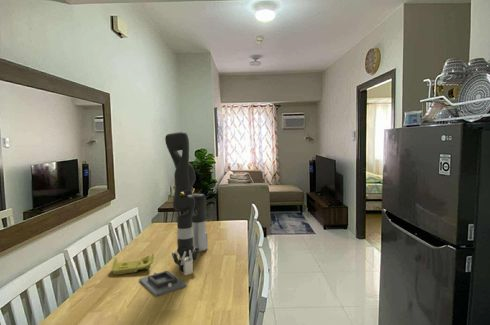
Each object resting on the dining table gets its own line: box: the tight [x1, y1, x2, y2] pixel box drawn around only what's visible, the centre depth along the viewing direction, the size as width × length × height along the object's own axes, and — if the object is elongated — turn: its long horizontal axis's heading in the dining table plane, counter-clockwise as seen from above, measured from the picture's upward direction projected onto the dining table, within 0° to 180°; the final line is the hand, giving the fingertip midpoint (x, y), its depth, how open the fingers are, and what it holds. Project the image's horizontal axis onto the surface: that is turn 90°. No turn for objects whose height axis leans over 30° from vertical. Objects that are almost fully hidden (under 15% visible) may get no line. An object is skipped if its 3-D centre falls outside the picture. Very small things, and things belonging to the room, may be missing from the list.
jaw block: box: [179, 257, 194, 276], centre depth 147 cm, size 4×6×6 cm, turn 39°
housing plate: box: [138, 270, 187, 297], centre depth 135 cm, size 14×19×3 cm
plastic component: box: [111, 252, 156, 275], centre depth 151 cm, size 20×7×10 cm
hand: (186, 270), depth 147 cm, fingers closed on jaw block, 4 cm apart
